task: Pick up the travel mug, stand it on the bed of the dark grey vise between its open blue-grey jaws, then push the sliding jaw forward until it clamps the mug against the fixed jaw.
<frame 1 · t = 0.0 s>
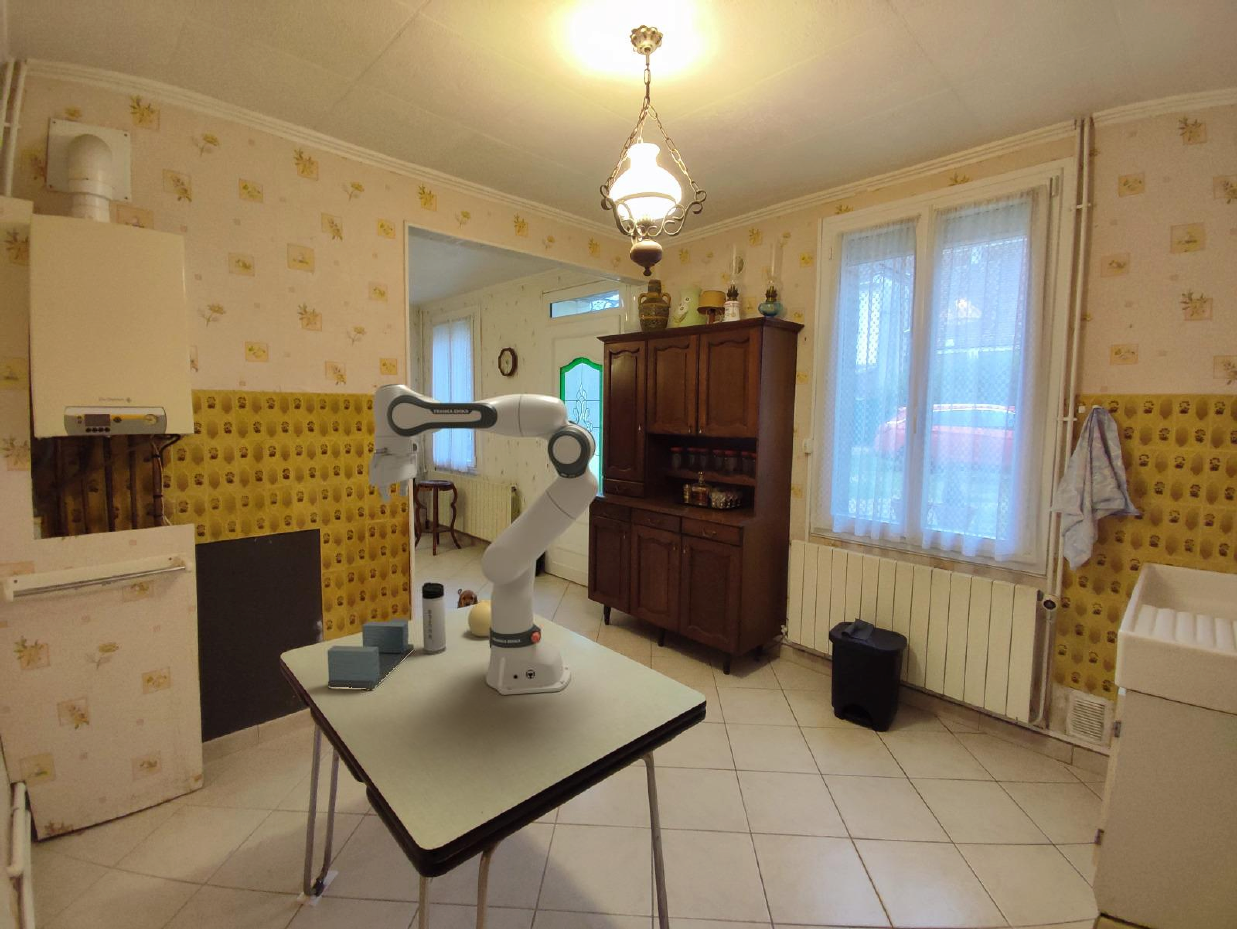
hand: (395, 499, 147), 48 cm above the table, tool pointing down, fingers open, 8 cm apart
sculpture: (487, 633, 180), on the table
travel mug: (434, 650, 167), on the table
vise: (374, 668, 155), on the table
sliding jaw: (391, 631, 165), point 6 cm above the table, slide at 0.0 cm
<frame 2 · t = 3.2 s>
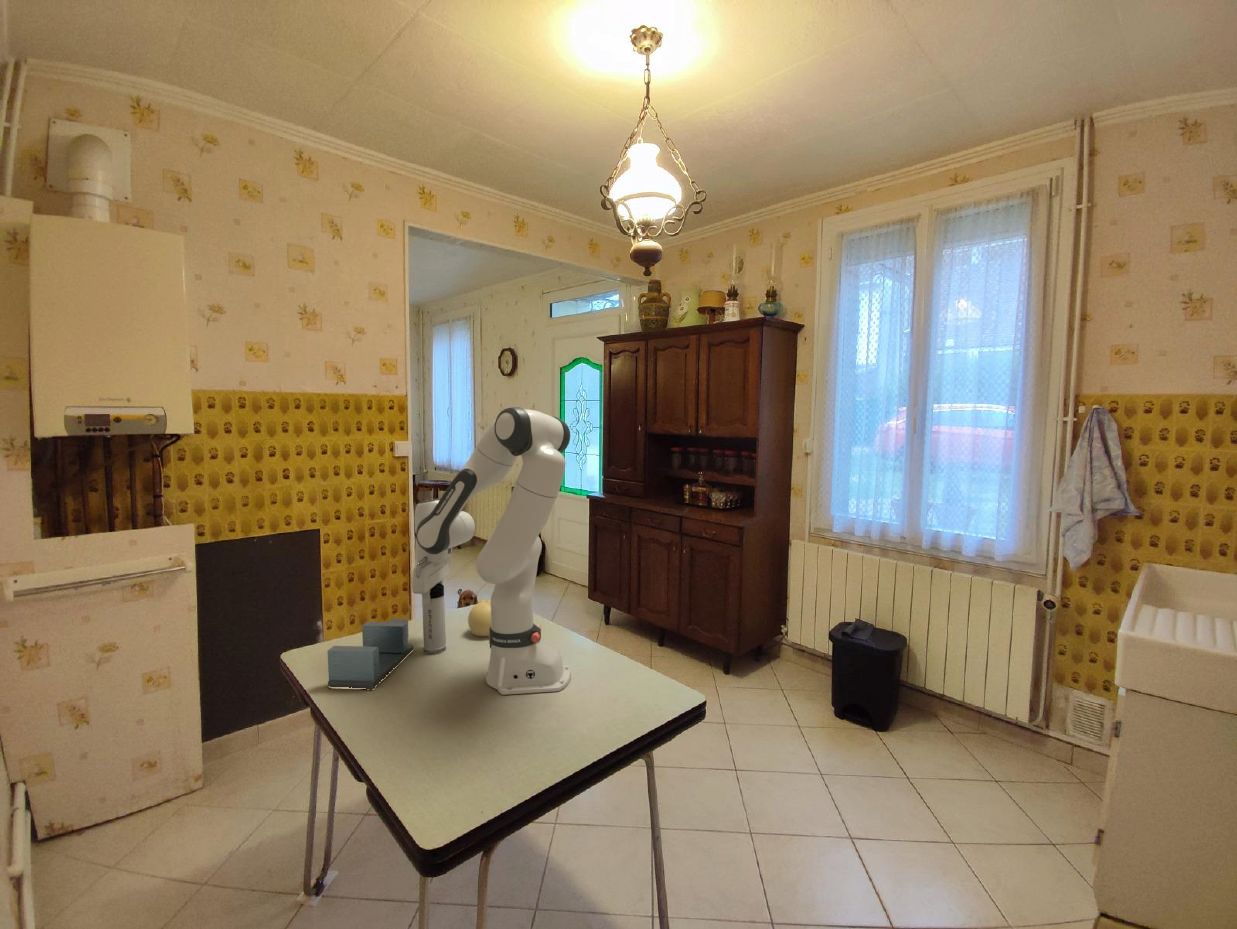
hand: (432, 599, 166), 16 cm above the table, tool pointing down, fingers closed on travel mug, 6 cm apart
travel mug: (434, 650, 167), on the table, touching gripper
everything else where it was.
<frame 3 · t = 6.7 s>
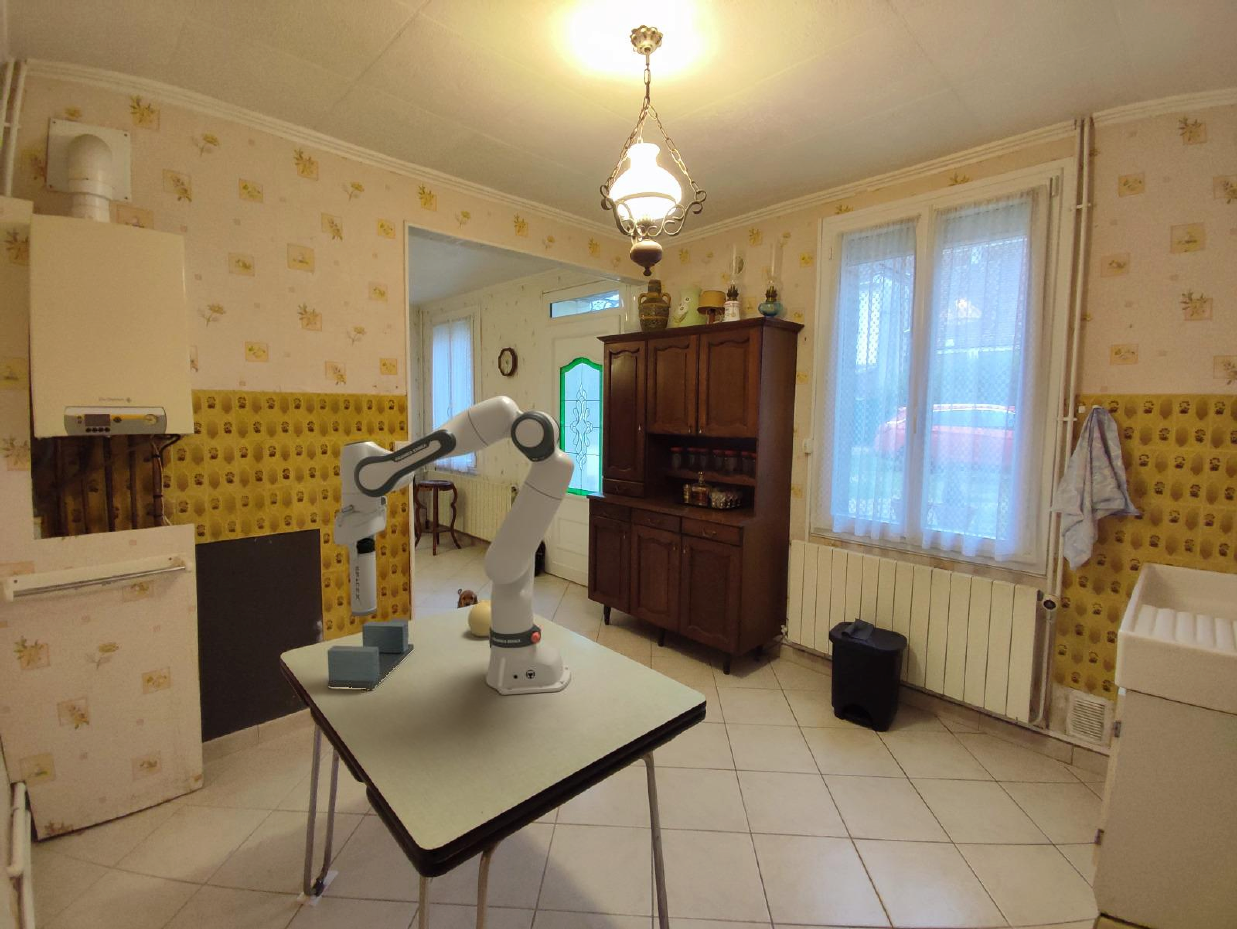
hand: (362, 554, 148), 33 cm above the table, tool pointing down, fingers closed on travel mug, 6 cm apart
travel mug: (363, 613, 149), point 17 cm above the table, touching gripper
everything else where it was.
when the fingers open (19 cm above the table, at t = 10.0 s): travel mug drops 1 cm, resting on vise.
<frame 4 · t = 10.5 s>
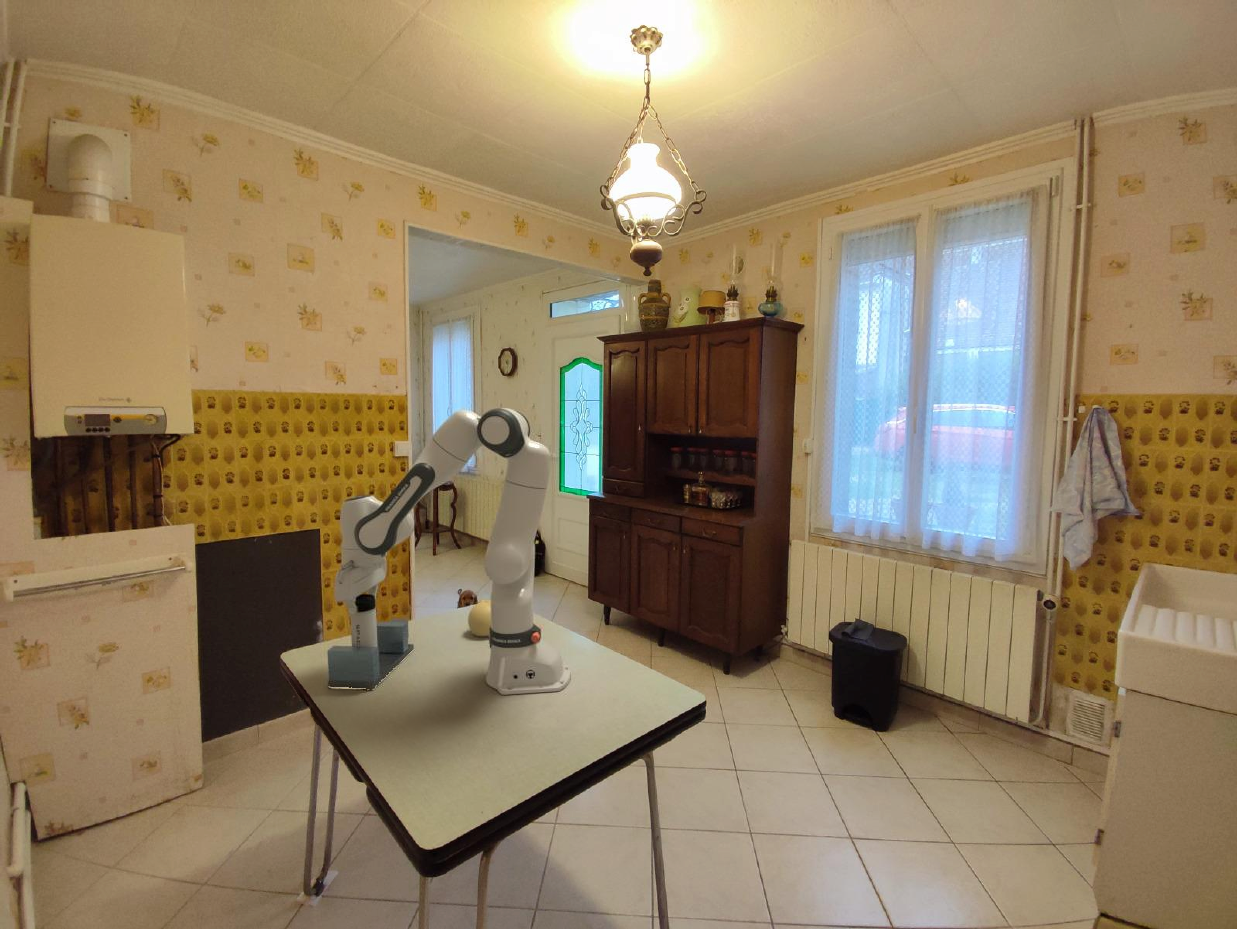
hand: (362, 607, 149), 19 cm above the table, tool pointing down, fingers open, 8 cm apart
travel mug: (365, 669, 150), point 2 cm above the table, touching vise
everything else where it was.
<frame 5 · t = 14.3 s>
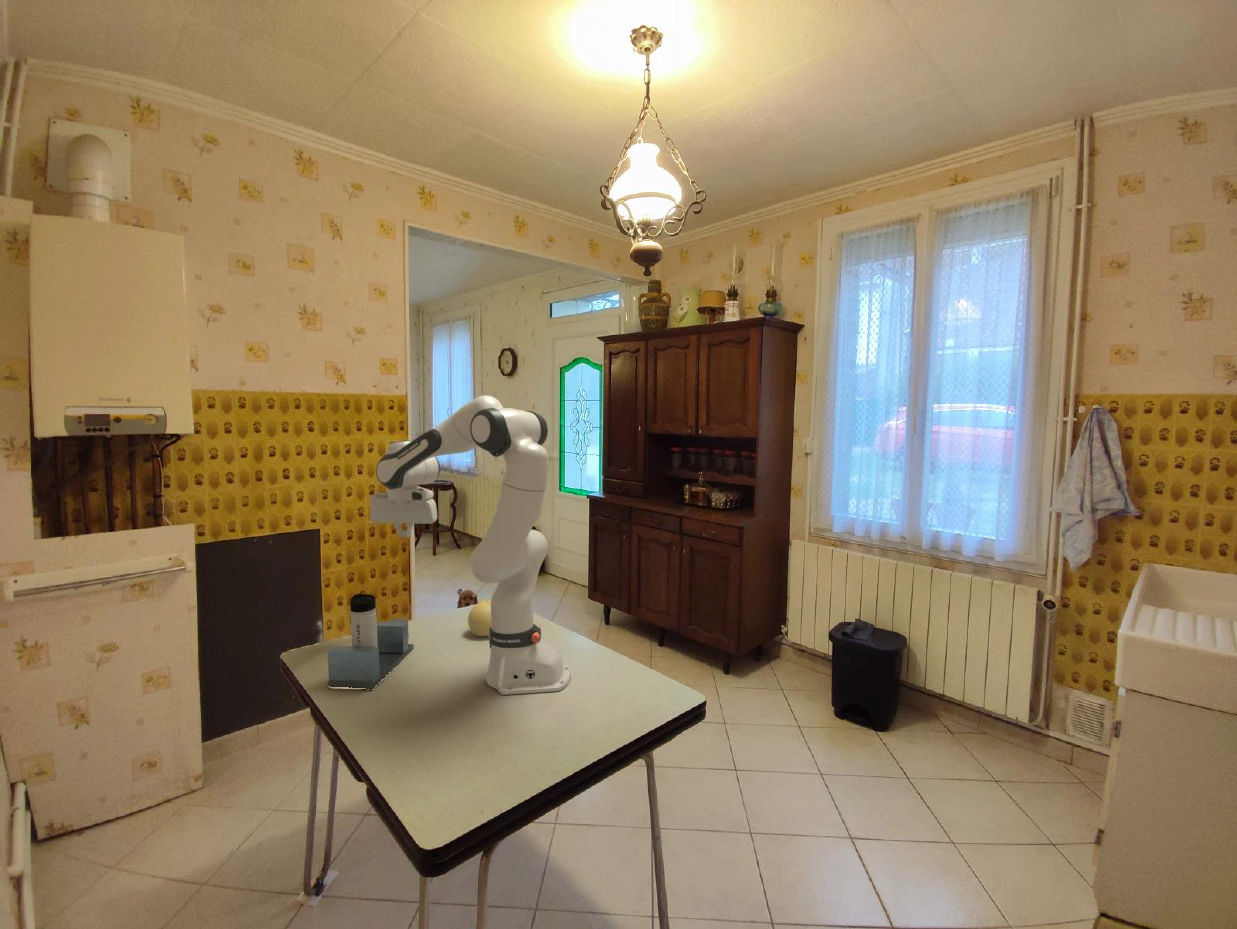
hand: (404, 537, 173), 32 cm above the table, tool pointing down, fingers closed
nothing on the table moved.
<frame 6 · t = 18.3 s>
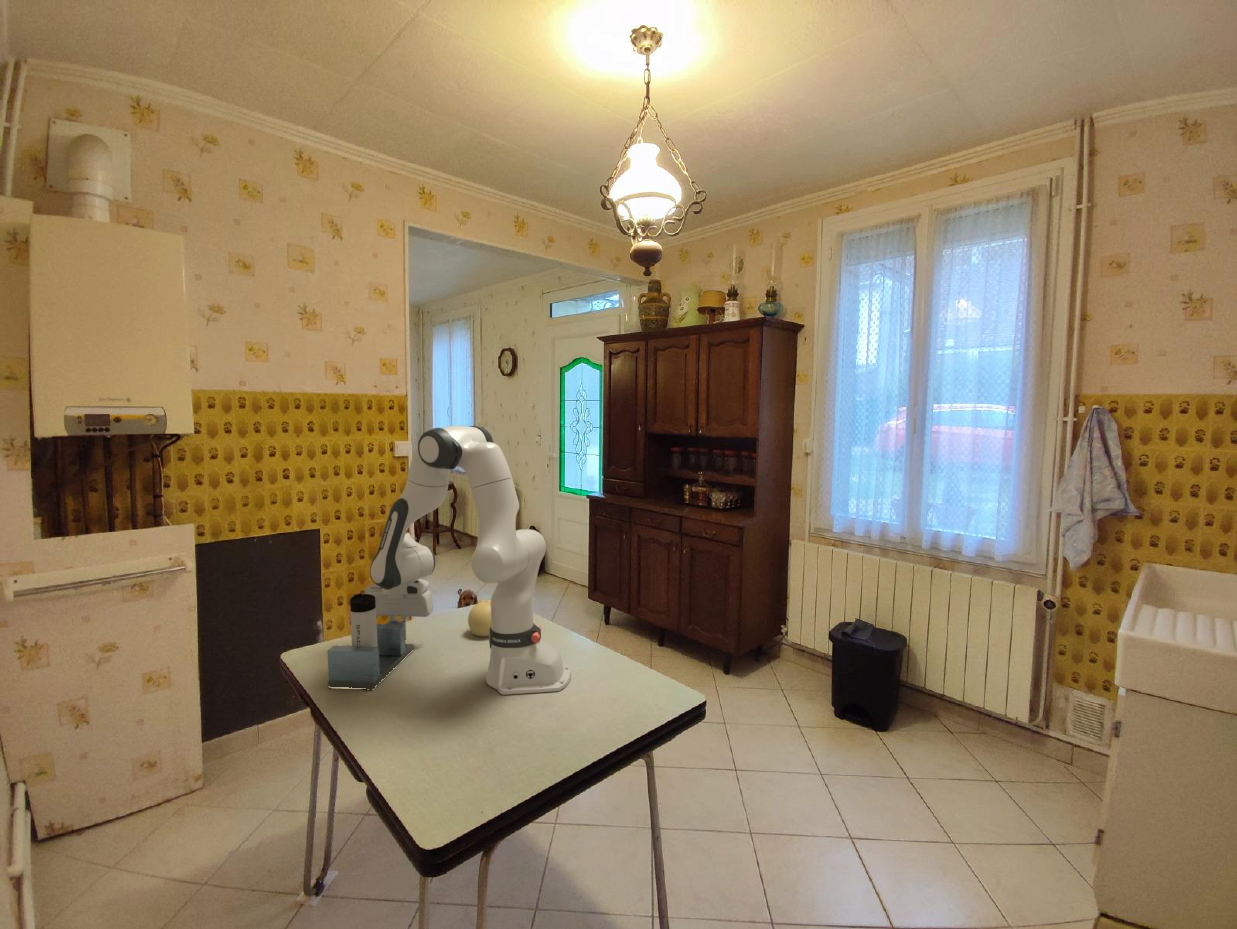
hand: (399, 629, 170), 5 cm above the table, tool pointing down, fingers closed
sliding jaw: (389, 634, 164), point 6 cm above the table, slide at 1.7 cm, touching gripper
everything else where it was.
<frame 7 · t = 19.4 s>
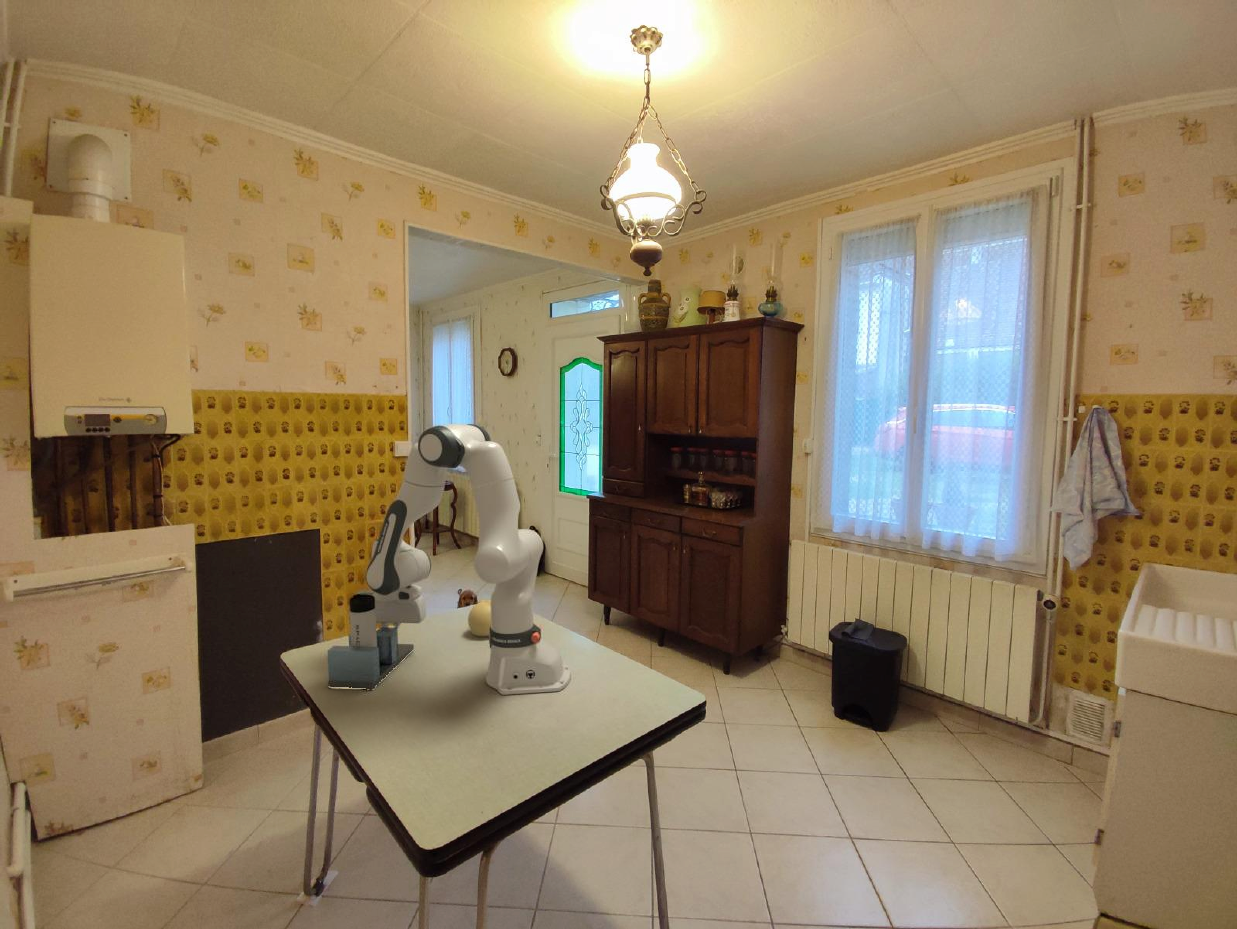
hand: (391, 636, 165), 5 cm above the table, tool pointing down, fingers closed, pressing on sliding jaw
travel mug: (365, 669, 150), point 2 cm above the table, touching sliding jaw
sliding jaw: (380, 641, 158), point 6 cm above the table, slide at 7.1 cm, touching gripper, travel mug
everything else where it was.
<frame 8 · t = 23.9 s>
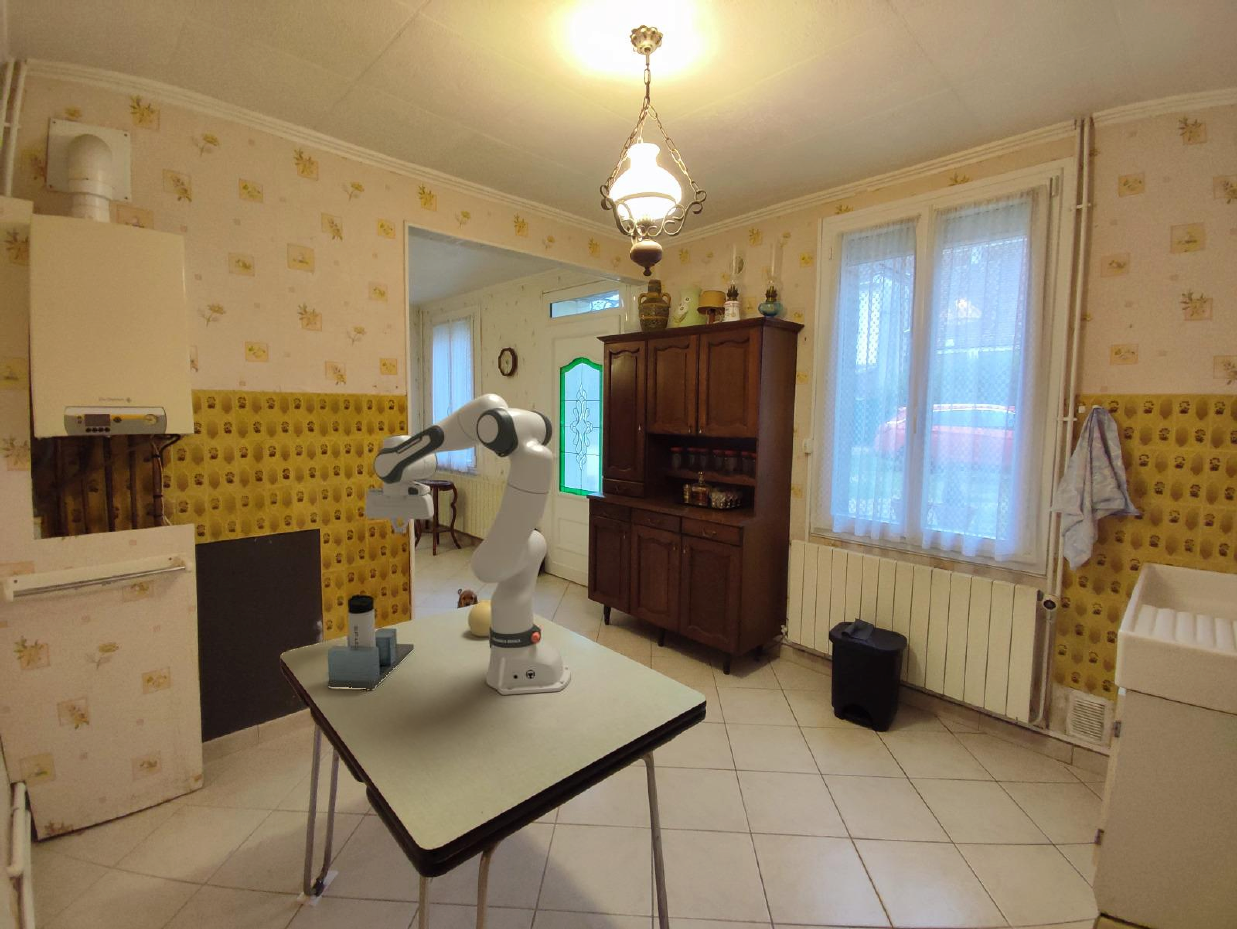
hand: (400, 533, 171), 34 cm above the table, tool pointing down, fingers closed
travel mug: (363, 670, 149), point 2 cm above the table, touching vise
sliding jaw: (378, 642, 158), point 6 cm above the table, slide at 7.7 cm
everything else where it was.
at the end: travel mug 0.2 cm from the target spot on the vise, point 1.8 cm above the vise's base; travel mug tilted 0°; sliding jaw slide at 7.7 cm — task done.
